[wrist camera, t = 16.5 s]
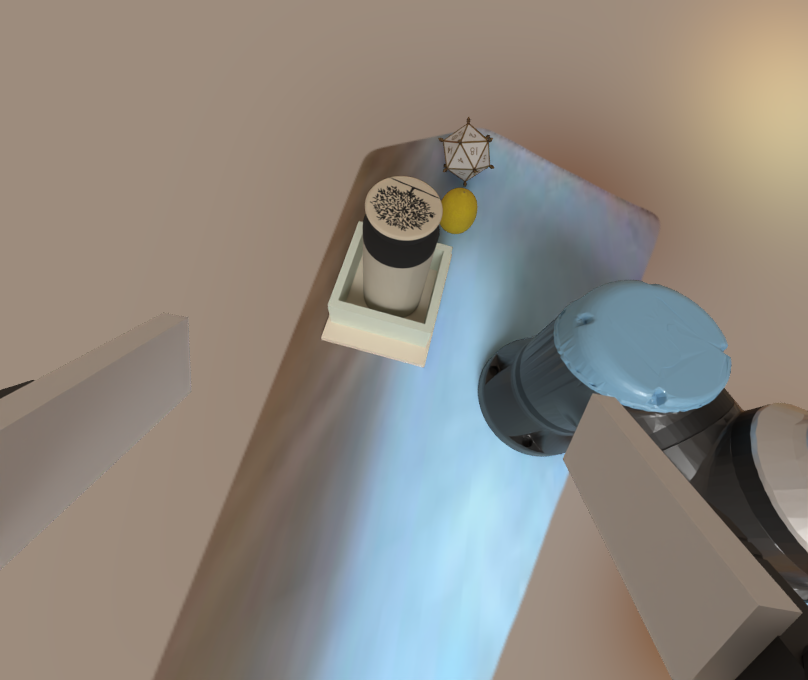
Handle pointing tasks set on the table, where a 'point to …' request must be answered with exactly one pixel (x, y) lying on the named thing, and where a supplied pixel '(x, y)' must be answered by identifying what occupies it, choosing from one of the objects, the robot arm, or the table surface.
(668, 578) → the robot arm
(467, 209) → the lemon
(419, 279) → the travel mug
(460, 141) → the game die
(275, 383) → the table surface
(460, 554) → the table surface
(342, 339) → the holder
